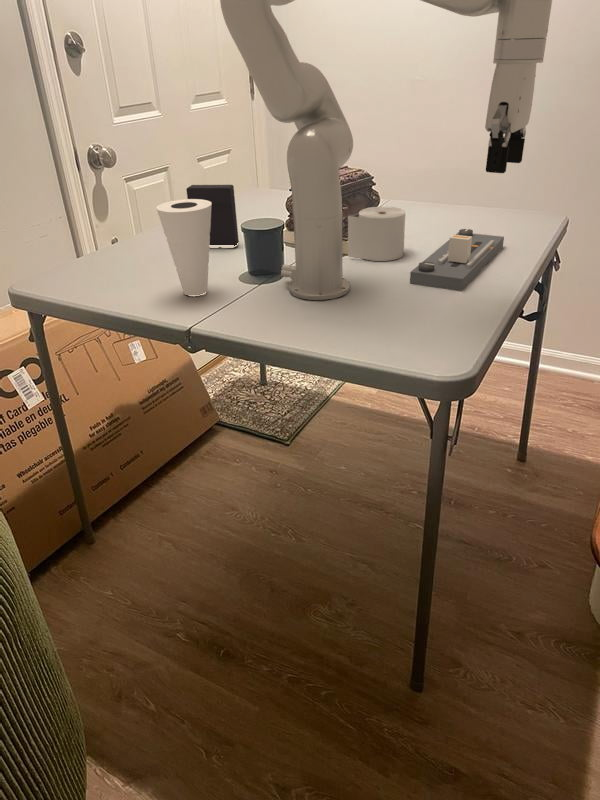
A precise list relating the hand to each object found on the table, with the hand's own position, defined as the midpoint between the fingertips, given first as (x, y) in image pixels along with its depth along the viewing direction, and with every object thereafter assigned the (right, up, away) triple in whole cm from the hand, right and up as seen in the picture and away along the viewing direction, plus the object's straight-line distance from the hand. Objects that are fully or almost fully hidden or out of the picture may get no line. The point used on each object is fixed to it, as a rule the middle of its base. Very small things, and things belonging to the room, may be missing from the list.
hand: (503, 167), depth 106 cm
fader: (-1, -10, +27) cm, 28 cm away
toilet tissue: (-16, -6, +41) cm, 44 cm away
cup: (-57, -17, +24) cm, 64 cm away
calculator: (-56, -1, +53) cm, 77 cm away
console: (+1, -9, +33) cm, 34 cm away
